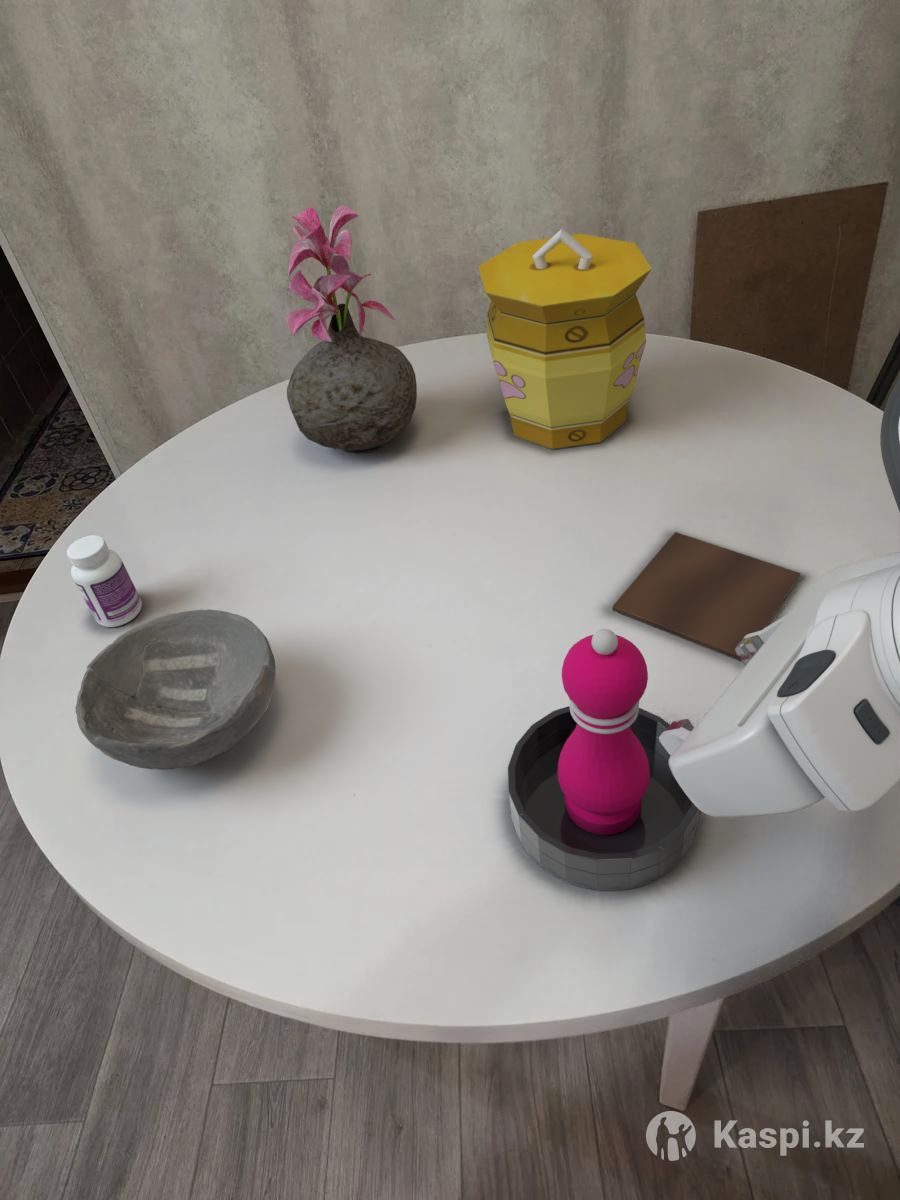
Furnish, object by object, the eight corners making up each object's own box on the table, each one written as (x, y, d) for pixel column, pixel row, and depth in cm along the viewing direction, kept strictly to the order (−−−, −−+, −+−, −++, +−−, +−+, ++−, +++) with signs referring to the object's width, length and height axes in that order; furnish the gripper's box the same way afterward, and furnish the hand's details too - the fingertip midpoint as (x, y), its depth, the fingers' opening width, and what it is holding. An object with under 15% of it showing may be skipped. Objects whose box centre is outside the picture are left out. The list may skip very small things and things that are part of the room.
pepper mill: (638, 763, 74) (648, 591, 61) (655, 837, 69) (670, 666, 55) (554, 771, 75) (545, 601, 61) (564, 845, 69) (557, 677, 56)
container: (511, 374, 128) (498, 197, 111) (656, 382, 121) (666, 196, 104) (469, 453, 113) (447, 264, 96) (631, 467, 107) (638, 267, 90)
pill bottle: (149, 595, 99) (118, 529, 93) (134, 627, 95) (100, 561, 89) (105, 597, 100) (71, 531, 93) (88, 629, 96) (51, 563, 90)
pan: (728, 783, 72) (734, 750, 69) (641, 927, 64) (643, 897, 61) (572, 709, 80) (571, 676, 77) (476, 829, 72) (470, 798, 69)
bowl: (298, 650, 90) (280, 593, 84) (279, 792, 77) (256, 736, 71) (130, 667, 91) (101, 612, 85) (83, 811, 78) (45, 757, 72)
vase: (285, 471, 115) (219, 244, 95) (328, 403, 127) (278, 189, 107) (405, 476, 111) (362, 240, 91) (438, 406, 123) (407, 184, 103)
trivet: (799, 577, 89) (800, 572, 89) (743, 662, 82) (743, 657, 81) (674, 535, 96) (675, 531, 96) (612, 610, 89) (612, 606, 89)
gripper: (941, 503, 49) (758, 570, 61) (771, 729, 39) (591, 756, 51) (1001, 592, 50) (808, 640, 62) (849, 836, 40) (653, 838, 51)
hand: (709, 694), depth 56 cm, fingers open, 8 cm apart
